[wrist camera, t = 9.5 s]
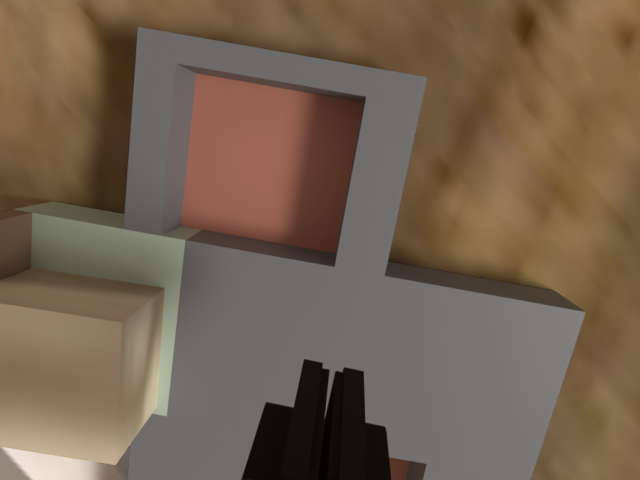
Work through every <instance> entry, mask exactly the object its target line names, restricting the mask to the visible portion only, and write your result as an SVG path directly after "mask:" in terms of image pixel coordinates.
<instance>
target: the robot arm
mask: <svg viewBox="0 0 640 480" xmlns="http://www.w3.org/2000/svg"><path fill="white" fill-rule="evenodd" d="M322 367H323V363H322V362H317V361H312V360H307V359H304V361H303V366H302V370H301V375H300V380H299V384H298V389H297V394H296V399H295V403H294V407H289V406H284V405H279V404H274V403H270V402H266V403H265V406H264V409H263V412H262V415H261V419H260V422H259V425H258V428H257V431H256V435H255V438H254V441H253V444H252V447H251V450H250V454H249V457H248V460H247V463H246V466H245V470H244V473H243V476H242V479H241V480H391V471H390V460H389V450H388V440H387V431H386V428H385V426H380V425H375V424H370V423H366V422H365V391H364V371H361V370H356V369H351V368H346V367H344V369H343V372H339V371H335V375H334V379H333V384H332V388H331V393H330V397H329V402H328V406H327V411H326V415H325V410H326V401H327V391H328V381H329V372H330V370H329V369H324V368H322Z"/></svg>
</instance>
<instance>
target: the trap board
mask: <svg viewBox="0 0 640 480" xmlns="http://www.w3.org/2000/svg"><path fill="white" fill-rule="evenodd" d="M426 81H427V77H422V76H417V75H411V74H405V73H400V72H394V71H388V70H382V69H377V68H371V67H365V66H359V65H354V64H348V63H342V62H336V61H331V60H325V59H319V58H314V57H308V56H302V55H296V54H291V53H285V52H279V51H273V50H268V49H262V48H256V47H250V46H245V45H239V44H233V43H228V42H222V41H216V40H210V39H205V38H199V37H193V36H187V35H182V34H176V33H170V32H164V31H159V30H153V29H147V28H141V27H138V34H137V48H136V62H135V76H134V90H133V103H132V117H131V131H130V145H129V159H128V173H127V187H126V201H125V214H122V213H116V212H110V211H105V210H99V209H94V208H88V207H83V206H77V205H71V204H66V203H60V202H55V201H52V202H47V203H42V204H37V205H32V206H27V207H22V208H17V209H11V210H6V211H1V212H0V280H2V279H5V278H7V277H10V276H12V275H15V274H17V273H20V272H23V271H25V270H28V269H30V268H39V269H46V270H52V271H59V272H65V273H71V274H78V275H84V276H91V277H97V278H104V279H110V280H116V281H123V282H129V283H136V284H142V285H149V286H155V287H162V288H165V294H164V308H163V323H162V337H161V351H160V366H159V380H158V395H157V407H156V409H155V410H154V411H153V413H152V414H151V416H150V417H149V419H148V420H147V421H146V423H145V424H144V426H143V427H142V429H141V430H140V431H139V433H138V434H137V436H136V437H135V438H134V440H133V441H132V443H131V444H130V453H129V464H128V476H127V480H241V479H242V476H243V473H244V470H245V466H246V463H247V460H248V457H249V454H250V450H251V447H252V444H253V441H254V438H255V435H256V431H257V428H258V425H259V422H260V419H261V415H262V412H263V409H264V406H265V403H266V402H270V403H274V404H279V405H284V406H289V407H294V403H295V399H296V394H297V389H298V384H299V380H300V375H301V370H302V366H303V361H304V359H307V360H312V361H317V362H322V363H323V367H322V368H324V369H329V370H330V372H329V381H328V391H327V401H326V410H325V415H326V411H327V406H328V402H329V397H330V393H331V388H332V384H333V379H334V375H335V371H339V372H343V369H344V367H346V368H351V369H356V370H361V371H364V391H365V422H366V423H370V424H375V425H380V426H385V428H386V431H387V440H388V450H389V460H390V471H391V480H531V477H532V474H533V471H534V468H535V465H536V462H537V459H538V456H539V453H540V449H541V446H542V443H543V440H544V437H545V434H546V431H547V428H548V425H549V422H550V419H551V416H552V413H553V410H554V407H555V404H556V401H557V398H558V395H559V392H560V389H561V386H562V383H563V380H564V377H565V374H566V371H567V368H568V364H569V361H570V358H571V355H572V352H573V349H574V346H575V343H576V340H577V337H578V334H579V331H580V328H581V325H582V322H583V319H584V316H585V313H586V312H585V311H583V310H582V309H581V308H579V307H578V306H576V305H575V304H573V303H572V302H570V301H569V300H567V299H566V298H564V297H563V296H562V295H560V294H559V293H557V292H556V291H552V290H546V289H541V288H535V287H530V286H524V285H518V284H513V283H507V282H502V281H496V280H490V279H485V278H479V277H474V276H468V275H463V274H457V273H451V272H446V271H440V270H435V269H429V268H423V267H418V266H412V265H407V264H401V263H395V262H390V261H388V258H389V253H390V248H391V244H392V239H393V234H394V230H395V225H396V221H397V216H398V211H399V207H400V202H401V197H402V193H403V188H404V183H405V179H406V174H407V169H408V165H409V160H410V155H411V151H412V146H413V141H414V137H415V132H416V127H417V123H418V118H419V113H420V109H421V104H422V99H423V95H424V90H425V85H426Z"/></svg>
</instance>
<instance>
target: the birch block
mask: <svg viewBox="0 0 640 480" xmlns="http://www.w3.org/2000/svg"><path fill="white" fill-rule="evenodd" d="M164 294H165V288H162V287H155V286H149V285H142V284H136V283H129V282H123V281H116V280H110V279H104V278H97V277H91V276H84V275H78V274H71V273H65V272H59V271H52V270H46V269H39V268H30V269H28V270H25V271H23V272H20V273H17V274H15V275H12V276H10V277H7V278H5V279H2V280H0V447H6V448H12V449H19V450H25V451H31V452H37V453H43V454H49V455H56V456H62V457H68V458H74V459H80V460H86V461H93V462H99V463H105V464H111V465H116V464H117V463H118V461H119V460H120V458H121V457H122V455H123V454H124V453H125V451H126V450H127V448H128V447H129V446H130V444H131V443H132V441H133V440H134V438H135V437H136V436H137V434H138V433H139V431H140V430H141V429H142V427H143V426H144V424H145V423H146V421H147V420H148V419H149V417H150V416H151V414H152V413H153V411H154V410H155V409H156V407H157V395H158V380H159V366H160V351H161V337H162V323H163V308H164Z"/></svg>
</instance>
